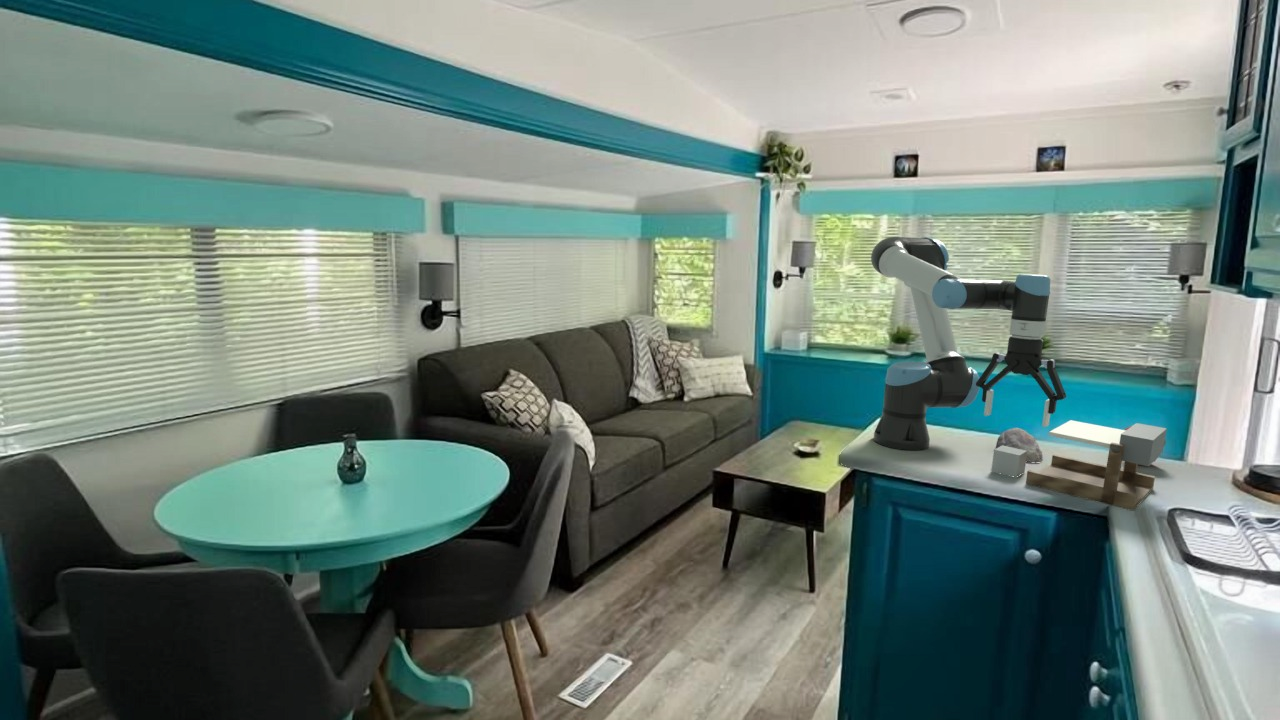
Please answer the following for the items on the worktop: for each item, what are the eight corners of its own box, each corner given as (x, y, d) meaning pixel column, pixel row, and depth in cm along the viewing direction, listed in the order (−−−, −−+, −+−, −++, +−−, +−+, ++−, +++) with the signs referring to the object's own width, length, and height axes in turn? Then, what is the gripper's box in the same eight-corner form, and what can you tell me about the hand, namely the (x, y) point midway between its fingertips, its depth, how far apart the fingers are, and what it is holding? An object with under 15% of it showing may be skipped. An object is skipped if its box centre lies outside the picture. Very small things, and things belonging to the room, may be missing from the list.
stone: (1027, 483, 187) (1059, 461, 185) (1003, 456, 187) (1034, 433, 185) (1006, 464, 204) (1035, 443, 201) (983, 439, 204) (1012, 417, 201)
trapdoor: (1047, 445, 167) (1050, 421, 166) (1068, 433, 179) (1072, 410, 178) (1147, 467, 153) (1152, 441, 152) (1163, 452, 165) (1167, 427, 164)
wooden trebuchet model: (1025, 483, 169) (1033, 428, 167) (1052, 465, 184) (1060, 414, 182) (1133, 510, 154) (1143, 450, 151) (1153, 488, 169) (1162, 433, 166)
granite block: (991, 472, 178) (994, 449, 177) (999, 467, 182) (1002, 445, 181) (1016, 478, 173) (1019, 455, 172) (1024, 473, 178) (1027, 450, 176)
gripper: (968, 332, 178) (959, 412, 181) (1079, 344, 160) (1067, 433, 164) (979, 330, 183) (970, 408, 186) (1088, 342, 165) (1075, 428, 169)
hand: (1015, 420), depth 175 cm, fingers open, 13 cm apart
